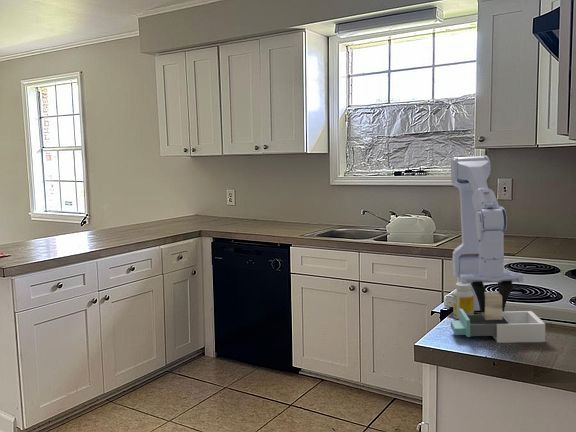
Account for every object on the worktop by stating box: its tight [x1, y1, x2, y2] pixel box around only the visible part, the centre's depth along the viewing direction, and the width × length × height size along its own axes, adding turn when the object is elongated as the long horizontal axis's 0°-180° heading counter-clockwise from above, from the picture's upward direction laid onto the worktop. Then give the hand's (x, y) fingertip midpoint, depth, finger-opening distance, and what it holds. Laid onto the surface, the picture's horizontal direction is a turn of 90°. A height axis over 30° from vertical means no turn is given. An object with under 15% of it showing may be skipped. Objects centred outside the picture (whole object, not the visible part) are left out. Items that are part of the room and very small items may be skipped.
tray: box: [450, 309, 510, 338], centre depth 135 cm, size 9×13×4 cm
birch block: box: [481, 290, 502, 320], centre depth 134 cm, size 4×4×6 cm
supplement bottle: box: [452, 282, 475, 320], centre depth 149 cm, size 5×5×10 cm
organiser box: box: [492, 310, 546, 344], centre depth 134 cm, size 10×11×4 cm
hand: (491, 310), depth 134 cm, fingers closed on birch block, 4 cm apart
